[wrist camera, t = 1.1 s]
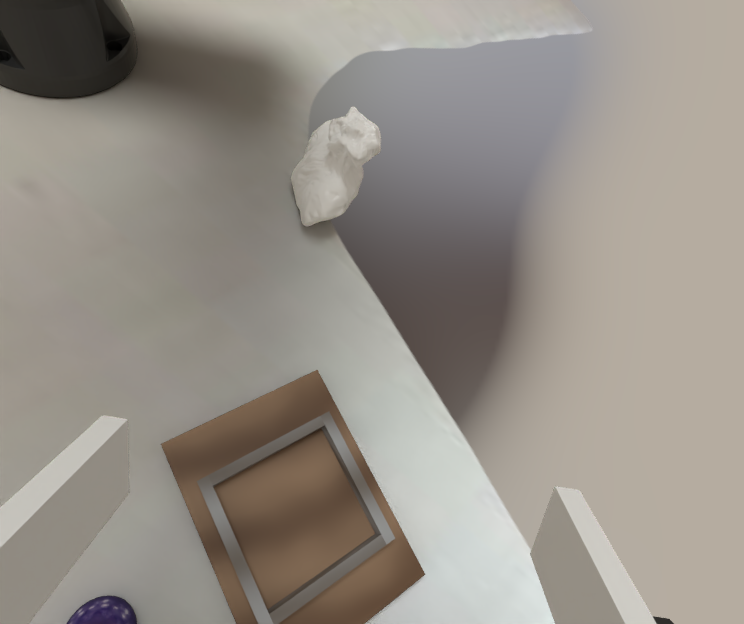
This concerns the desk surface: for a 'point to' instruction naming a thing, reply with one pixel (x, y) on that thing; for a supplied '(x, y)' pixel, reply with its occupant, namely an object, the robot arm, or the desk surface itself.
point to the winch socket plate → (292, 511)
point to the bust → (334, 166)
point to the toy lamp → (104, 612)
